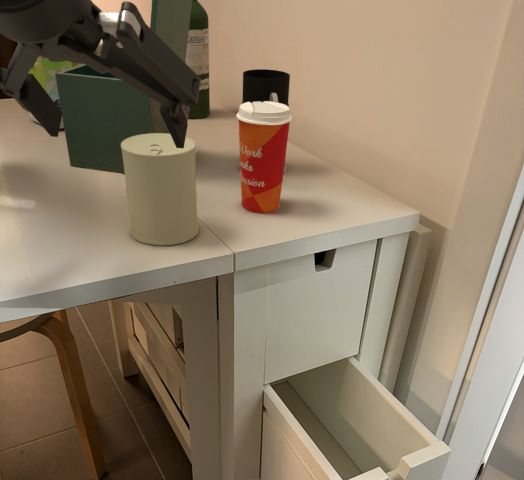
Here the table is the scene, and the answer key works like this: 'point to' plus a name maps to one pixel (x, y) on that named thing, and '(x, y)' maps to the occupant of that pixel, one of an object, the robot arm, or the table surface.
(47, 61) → the tea box
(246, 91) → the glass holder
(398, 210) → the table surface
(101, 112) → the dark green square box
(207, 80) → the wine bottle
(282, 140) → the paper cup
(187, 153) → the can
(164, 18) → the lid
